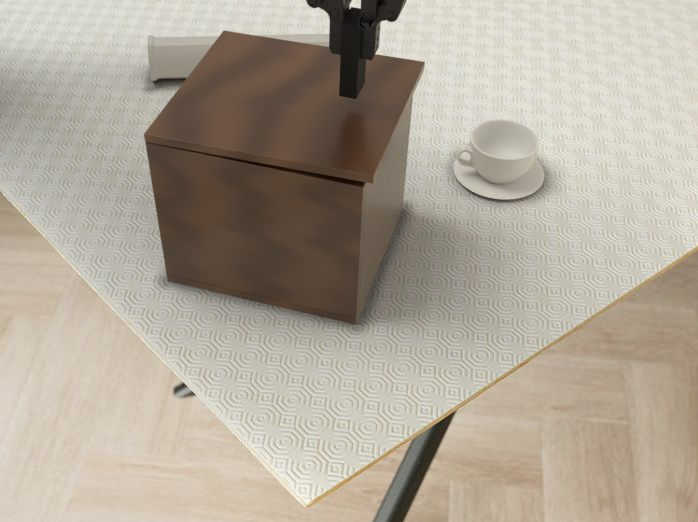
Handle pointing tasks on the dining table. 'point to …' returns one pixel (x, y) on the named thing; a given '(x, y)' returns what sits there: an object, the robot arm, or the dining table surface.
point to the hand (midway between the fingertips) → (352, 88)
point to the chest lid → (287, 107)
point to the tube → (199, 52)
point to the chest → (276, 227)
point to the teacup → (500, 160)
